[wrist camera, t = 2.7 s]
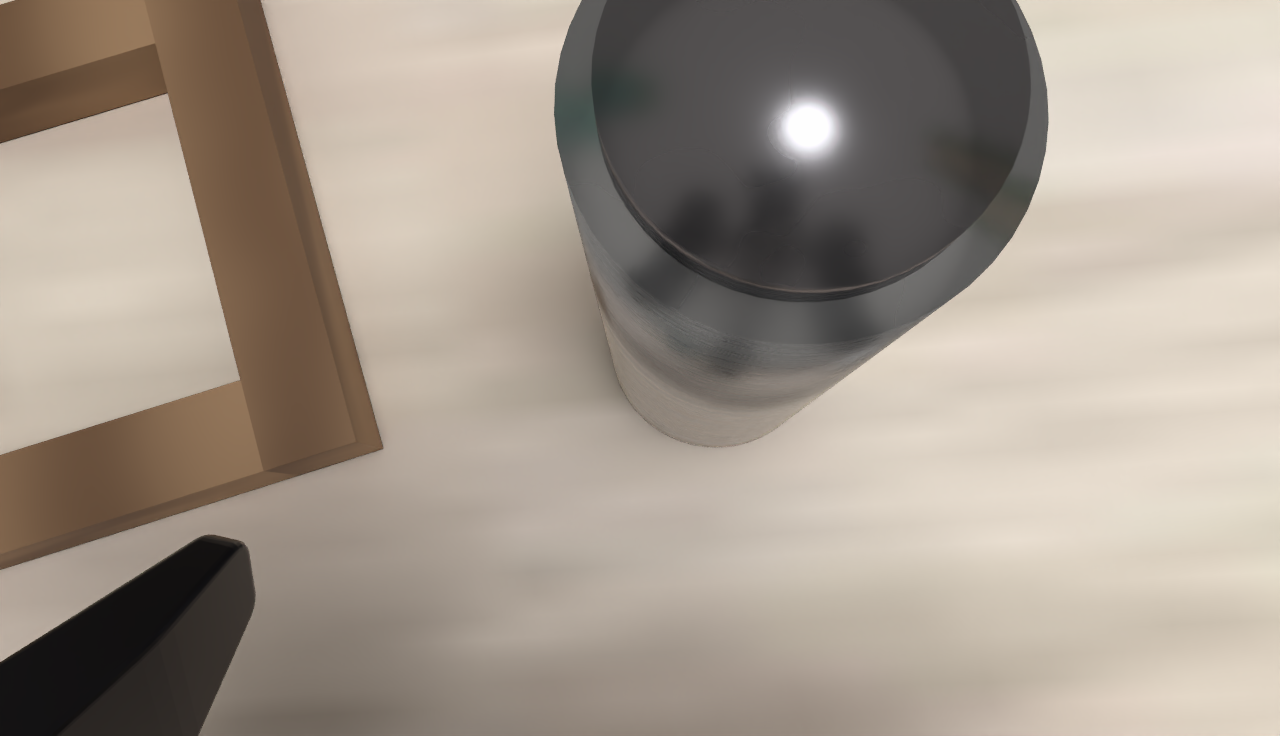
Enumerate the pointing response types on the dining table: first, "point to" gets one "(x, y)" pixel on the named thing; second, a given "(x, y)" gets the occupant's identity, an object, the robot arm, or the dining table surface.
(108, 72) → the holder
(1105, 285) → the dining table surface
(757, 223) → the grey brushed cylinder
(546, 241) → the dining table surface
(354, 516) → the dining table surface
